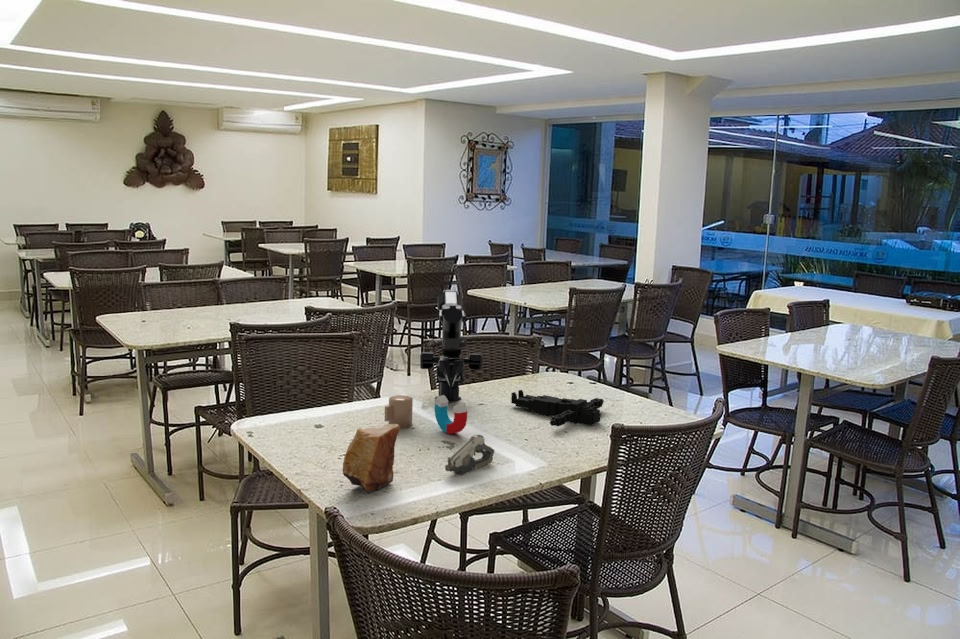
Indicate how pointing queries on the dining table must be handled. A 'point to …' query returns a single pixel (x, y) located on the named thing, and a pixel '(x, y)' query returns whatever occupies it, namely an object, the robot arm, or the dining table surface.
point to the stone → (371, 457)
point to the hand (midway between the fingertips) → (450, 385)
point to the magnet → (444, 420)
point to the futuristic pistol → (470, 456)
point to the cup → (399, 411)
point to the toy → (561, 408)
